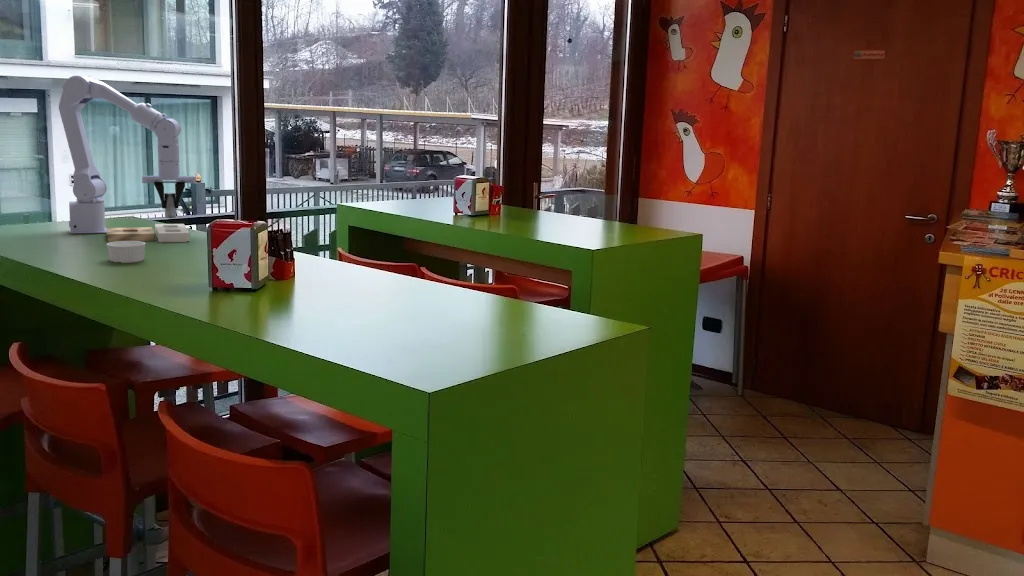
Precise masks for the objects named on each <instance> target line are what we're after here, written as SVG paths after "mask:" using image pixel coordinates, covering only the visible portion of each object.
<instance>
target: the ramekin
mask: <svg viewBox="0 0 1024 576" xmlns="http://www.w3.org/2000/svg"><path fill="white" fill-rule="evenodd" d="M106 248H107V253H108V258H109V261H110V262H112V261H113V263H117V262H121V263H120V264H129V263H130V264H131V263H133V264H134V263H140V262H142V261H144V259H145V250H146V241H109V242H107V243H106Z"/></svg>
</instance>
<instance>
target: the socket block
mask: <svg viewBox="0 0 1024 576" xmlns="http://www.w3.org/2000/svg"><path fill="white" fill-rule="evenodd" d="M106 228H107V233H106V235H107V242H116V241H141V242H150V241H151V242H154V241H156V240H155V230H154V229H153V227H151V226H150V227H147V226H146V227H141V226H140V227H136V226H135V227H106Z"/></svg>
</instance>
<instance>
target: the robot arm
mask: <svg viewBox="0 0 1024 576" xmlns="http://www.w3.org/2000/svg"><path fill="white" fill-rule="evenodd" d="M61 88H62V92H61V96H60V99H59V103H58V110H59V114H60V119H61V122H62V125H63V129H64V132H65V138H66V141H67V145H68V148H69V152H70V156H71V159H72V163H73V166H74V167H73V168H74V171H73V174H72V179H73V186H72V193H73V195H74V197H75V198H76V201H69V205H68V208H69V220H68V227H69V228H70V234H107V228H108V227H106V211H105V199H104V195H105V194H106V192H107V184H106V182H105V180H104V179H103V178H102V177H101V173H100V171H99V170H98V168H97V167H96V166H95V161H94V159H93V155H92V151H91V148H90V147H91V146H90V143H89V140H88V136H87V132H86V128H85V125H84V120H83V117H82V110H83V108H84V107H85V106H86V105H87V104H88V103H89V102H91V101H92V100H94V99H104V100H106V101H108V102H109V103H111V104H113V105H114V106H117V107H119V108H120V109H122V110H124V111H125V112H128V113H129V114H130V116H131V119H132V121H133V122H136V123H137V124H139V125H140V126H142V127H144V128H146V129H148V130H149V131H151V132H152V133H154V134H155V136H156V137H157V165H158V175H142V176H141V180H142V181H141V183H142V184H153V186H154V187H155V189H156V192H157V193H158V197H159V199H160V204H161V208H162V210H163V209H164V210H165V200H164V193H165V186H164V184H174V193H175V199H176V209H179V204H180V201H181V197H182V194H183V192H184V190H185V187H186V184H195V185H196V184H197V177H196V176H194V175H192V176H191V175H190V176H189V175H188V176H187V175H181V174H180V173H181V172H180V169H181V168H180V144H179V135H180V134H181V130H182V128H181V127H182V126H181V124H180V123H179V122H178V121H177V120H176V119H175V118H173V117H168V115H167V114H166V113H161V112H160V111H158V110H157V109H156V108H155V109H154V108H153V105H152V104H150V103H149V102H148V103H144V102H139V103H136V102H135V101H133V100H132V99H130V98H129V97H127V96H125V95H124V94H122V93H120V91H118V90H116V89H115V88H113V87H112V86H110V85H108V84H107V83H105V82H103V81H102V80H100V79H99V80H98V79H97V78H96V77H93V76H90V75H88V76H87V75H85V76H81V75H72V76H70V77H68V79H66V80H65V82H64V83H62V87H61ZM167 117H168V118H167Z"/></svg>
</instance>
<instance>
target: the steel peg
mask: <svg viewBox="0 0 1024 576" xmlns="http://www.w3.org/2000/svg"><path fill="white" fill-rule="evenodd" d="M175 197H176V195H175V192H164V201H165V209H164V218H165V219H175V218H176V219H177V208H176V199H175Z"/></svg>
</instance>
